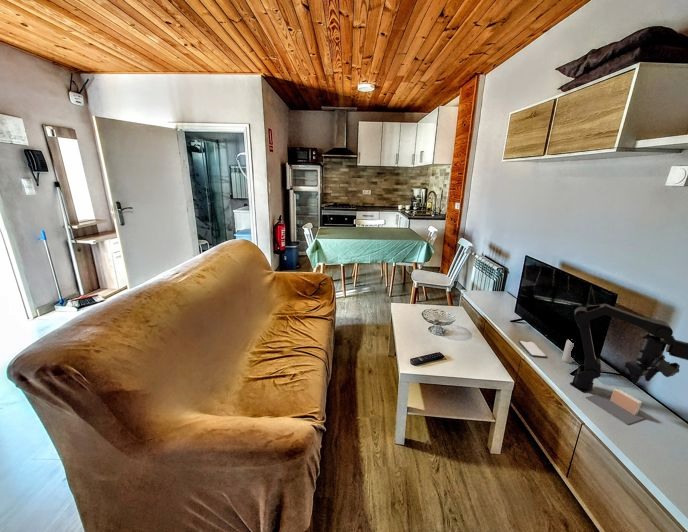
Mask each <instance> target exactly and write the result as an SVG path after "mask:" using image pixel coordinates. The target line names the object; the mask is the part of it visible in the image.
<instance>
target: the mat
mask: <svg viewBox="0 0 688 532" xmlns="http://www.w3.org/2000/svg"><path fill="white" fill-rule="evenodd" d="M585 399H587V401H589V402H590V403H593V404H594V405H596V406H597V407H599V408H600V409H602V410H603V411H605V412H606V413H608V414H610V415H612V416H613V417H614V418H616V419H618V420H619V421H620V422H623V424H625V425H631V424H634V423H637V422H640V421H643V420H645V419H647V417H645V416H644V415H642V414H641V413H639V412H638V414H636V415H634V414H632V413H630V412H629V411H627V410H625V409H624V408H622V407H620V406H619V405H617V404H616V403H614V402H612V401H611V400H610V399H611V396H610V395H608V394H607V393H605V392H600V393H597V394H593V395H589V396H586V397H585Z"/></svg>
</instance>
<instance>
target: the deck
mask: <svg viewBox="0 0 688 532" xmlns="http://www.w3.org/2000/svg"><path fill="white" fill-rule="evenodd" d="M610 397H611V399H610V400H611V401H612V402H614V403H616V404H617V405H619V406H620V407H622V408H624V409H625V410H627V411H629V412H630V413H632V414H634V415H636V414H638V413H639V411H640V409H641V406H642V403H643V402H642V401H641V400H639V399H638V398H636V397H633V396H632V395H630V394H629V393H626V392H625V391H623V390H621V389H620V388H619V387H616V388H614V389H613V391H612V393H611V396H610Z"/></svg>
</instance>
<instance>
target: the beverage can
mask: <svg viewBox="0 0 688 532" xmlns="http://www.w3.org/2000/svg"><path fill="white" fill-rule="evenodd" d="M573 347H574V343H572V342H571V341H570V340H569V338H568V339H566V342H565V345H564V349H563V352H562V353H563V354H562V357H561V360H562V361H563V362H564V363H567V364H572V363H573V361H574V358H572V357H571V351H572V349H573Z"/></svg>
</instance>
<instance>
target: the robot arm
mask: <svg viewBox="0 0 688 532" xmlns="http://www.w3.org/2000/svg"><path fill="white" fill-rule="evenodd" d="M573 315H574V320H575V323H576V325H577V326H578V328H579V332H580V337H581V343H582V347H583V353H584V364H580V365H578V366H577V371H576V372H574V377H573V378H572V382H570V383H569V384H570V386H572V387H574V388H576V389H577V390H579V391H580V392H582V393H587V392H590V391H591V392H592V391H593V389H594V388H593V386H594V380H595V379H599V378H600V377H601V374H603V366H602V363H601V358H597V357H596V355H595V348H594V343H593V337H592V332H591V320H594V319H598V318H600V317H603V316H608V317H611V318H614V319H617V320H619V321H621V322H625V323H627V324H630V325H633V326H636V327H638V328H641V329H642V330H643V331H646V332H645V333H641V334H640V335H641V337H642V339H645V344H644V345H643V348H642V349H639V353H640V356H639V357H637V358H636V361H635V360H632V361H626V362H625V363H624V368H625V369H627V370H628V374H629V375H630V378H631V383H632V384H633V385H636V386H637V384H638V383H639V381H640V380H641V378H642V377H643V376H644V380H645V381H646V382H650V381H651V380H652V379H653V378H654V377H655V376H656V375H657V374H658V373H661V374H662V376H664V377H666V378H670V377H674V376H675V375H676V374H677V373H680V366H681V365H680V364H679V363H678V362H672V363H671V362H670V361H668V360H665V358H666V356H665V355H664V351H665V352H666V353H668V356H671V357H673V358H674V357H675V358H679V359H682V360H685V361H688V342H686V341H682V340H677V339H676V338H675V337H674V335H673V334H674V331H673V328H672V327H671V326H670V324H669V323H668V322H667V321H665V320H661V319H656V318H650V317H643V316H640V315H637V314H634V313H632V312H630V311H626V310H623V309H620V308H618V307H615V306H612V305H610V304H607V303H602V304H601V303H600V304H598V305H597V304H595V305H589V306H586V307H585V306H578V307H577V308H576V309H574V314H573Z"/></svg>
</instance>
